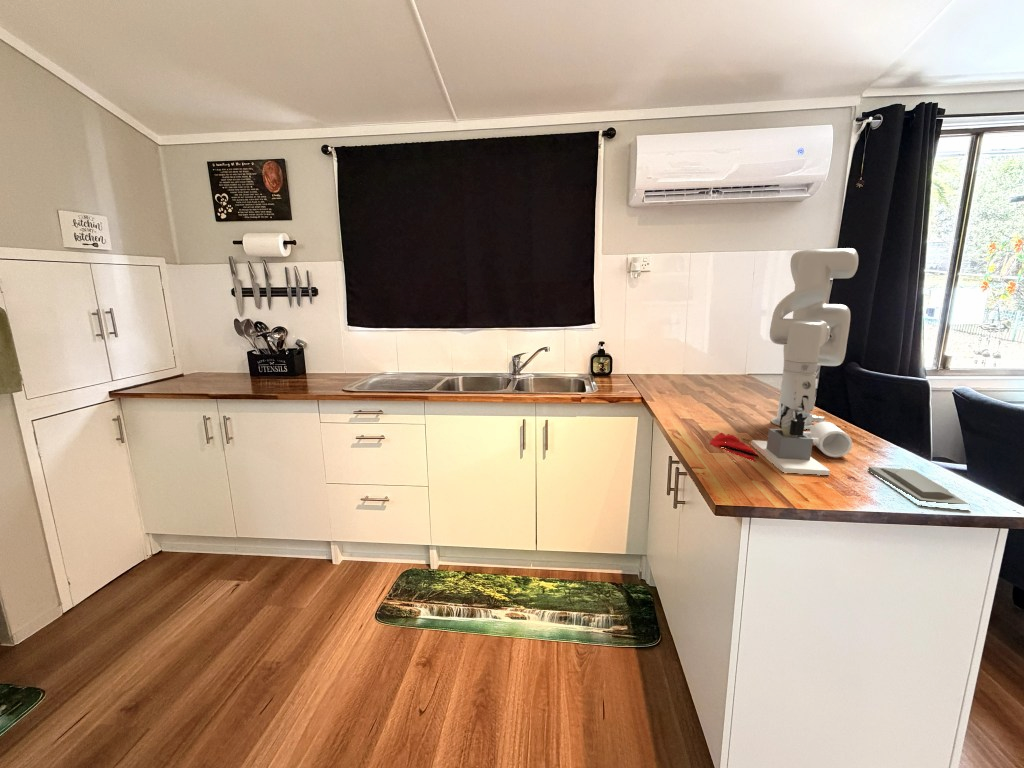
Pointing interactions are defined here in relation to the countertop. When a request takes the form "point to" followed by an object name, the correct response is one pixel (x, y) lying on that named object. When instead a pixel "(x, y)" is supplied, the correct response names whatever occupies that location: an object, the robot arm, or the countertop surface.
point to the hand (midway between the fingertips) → (790, 430)
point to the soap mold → (916, 485)
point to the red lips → (732, 445)
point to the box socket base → (790, 453)
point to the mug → (830, 439)
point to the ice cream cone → (787, 423)
